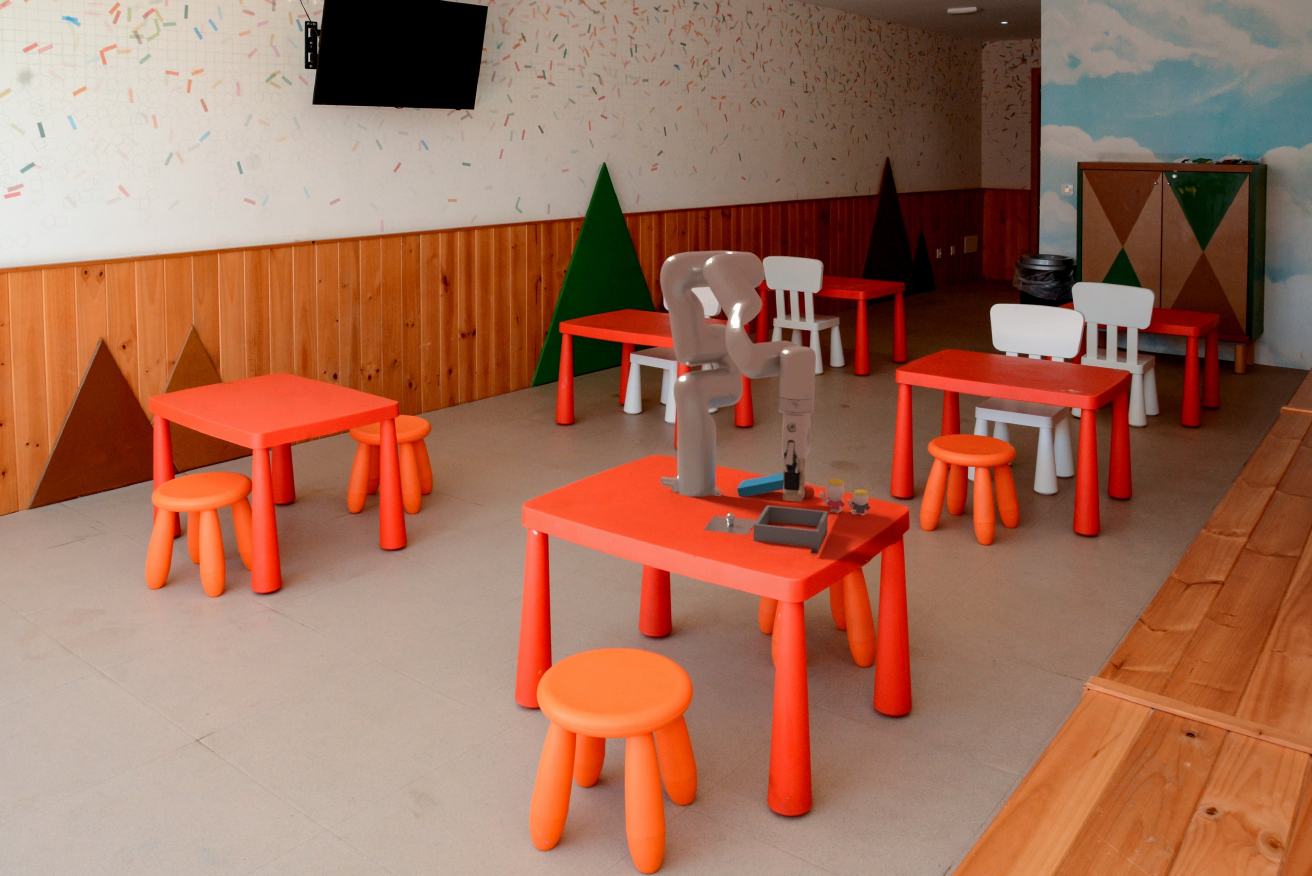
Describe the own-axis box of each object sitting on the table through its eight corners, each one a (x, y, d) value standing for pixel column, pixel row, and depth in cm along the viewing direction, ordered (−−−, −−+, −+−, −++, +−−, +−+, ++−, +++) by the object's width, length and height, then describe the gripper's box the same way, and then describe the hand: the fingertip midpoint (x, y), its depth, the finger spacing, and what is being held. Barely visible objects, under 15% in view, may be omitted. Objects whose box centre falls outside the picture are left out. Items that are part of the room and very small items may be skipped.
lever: (743, 515, 265) (813, 502, 259) (736, 488, 264) (807, 475, 258) (749, 506, 272) (817, 493, 266) (742, 480, 270) (811, 467, 265)
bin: (753, 546, 230) (753, 524, 229) (766, 525, 243) (766, 505, 242) (817, 553, 226) (818, 531, 225) (827, 532, 239) (828, 511, 238)
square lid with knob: (703, 536, 237) (703, 517, 235) (714, 521, 246) (714, 504, 245) (747, 541, 234) (747, 522, 233) (756, 526, 243) (757, 508, 242)
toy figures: (870, 512, 253) (872, 478, 251) (869, 518, 249) (871, 484, 247) (819, 508, 256) (821, 475, 254) (818, 514, 252) (819, 480, 250)
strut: (801, 501, 230) (802, 456, 227) (782, 500, 231) (783, 455, 228) (804, 496, 233) (805, 452, 231) (786, 494, 234) (787, 451, 232)
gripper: (807, 414, 218) (804, 499, 223) (819, 397, 234) (816, 477, 238) (771, 412, 220) (769, 496, 225) (786, 395, 236) (783, 474, 240)
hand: (793, 485), depth 231 cm, fingers closed on strut, 4 cm apart
